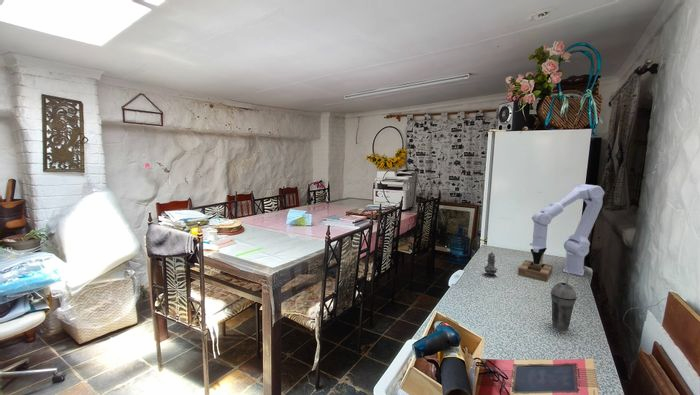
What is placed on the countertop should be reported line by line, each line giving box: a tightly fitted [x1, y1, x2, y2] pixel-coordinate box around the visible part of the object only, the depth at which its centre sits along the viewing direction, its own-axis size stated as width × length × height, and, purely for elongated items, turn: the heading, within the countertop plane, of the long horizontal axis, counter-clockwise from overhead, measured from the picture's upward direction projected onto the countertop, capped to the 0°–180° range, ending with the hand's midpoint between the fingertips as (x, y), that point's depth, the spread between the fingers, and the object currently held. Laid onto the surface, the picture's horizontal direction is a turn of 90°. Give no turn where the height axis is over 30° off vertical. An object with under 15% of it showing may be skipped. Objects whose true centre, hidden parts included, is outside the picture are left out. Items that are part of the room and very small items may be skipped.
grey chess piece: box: [483, 251, 498, 278], centre depth 147 cm, size 6×6×12 cm
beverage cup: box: [550, 271, 577, 332], centre depth 102 cm, size 7×7×20 cm
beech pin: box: [532, 254, 544, 267], centre depth 152 cm, size 4×4×8 cm
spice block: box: [517, 259, 554, 282], centre depth 150 cm, size 15×12×4 cm
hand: (537, 262), depth 152 cm, fingers closed on beech pin, 4 cm apart
